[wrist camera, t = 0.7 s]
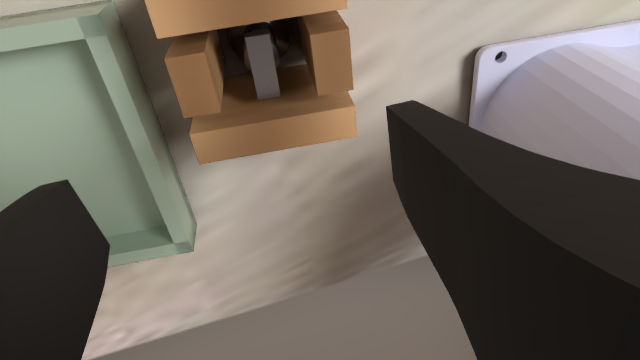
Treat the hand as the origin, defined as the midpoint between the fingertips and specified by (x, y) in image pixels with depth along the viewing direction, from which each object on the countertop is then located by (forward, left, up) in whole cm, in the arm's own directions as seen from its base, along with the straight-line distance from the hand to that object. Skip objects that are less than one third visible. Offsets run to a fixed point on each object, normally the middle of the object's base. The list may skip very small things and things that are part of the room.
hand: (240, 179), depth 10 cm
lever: (-1, 0, -9) cm, 9 cm away
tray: (+9, +3, -9) cm, 13 cm away
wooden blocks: (-1, 0, -9) cm, 9 cm away
